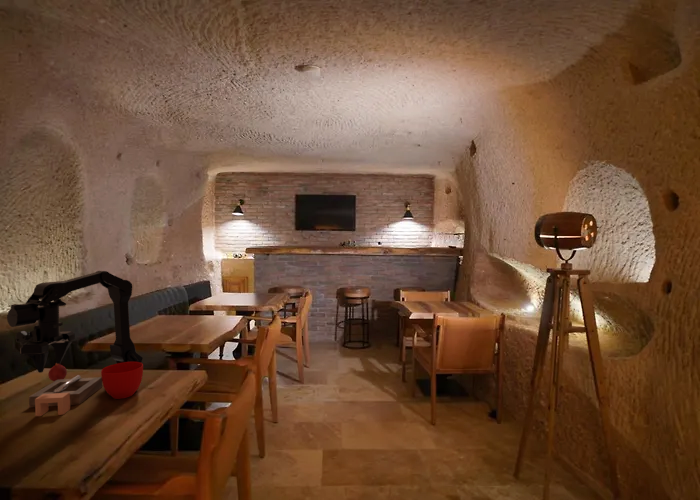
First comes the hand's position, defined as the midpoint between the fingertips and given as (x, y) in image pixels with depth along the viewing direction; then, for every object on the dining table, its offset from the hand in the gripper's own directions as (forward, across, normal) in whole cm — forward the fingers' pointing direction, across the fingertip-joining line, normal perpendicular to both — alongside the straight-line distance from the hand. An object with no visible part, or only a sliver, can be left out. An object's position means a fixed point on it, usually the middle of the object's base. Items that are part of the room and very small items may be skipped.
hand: (49, 367), depth 132 cm
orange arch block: (+13, +4, +3) cm, 14 cm away
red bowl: (+13, -10, +20) cm, 26 cm away
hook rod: (+10, -9, 0) cm, 13 cm away
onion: (+13, -24, -12) cm, 29 cm away
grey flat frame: (+13, -9, 0) cm, 16 cm away
